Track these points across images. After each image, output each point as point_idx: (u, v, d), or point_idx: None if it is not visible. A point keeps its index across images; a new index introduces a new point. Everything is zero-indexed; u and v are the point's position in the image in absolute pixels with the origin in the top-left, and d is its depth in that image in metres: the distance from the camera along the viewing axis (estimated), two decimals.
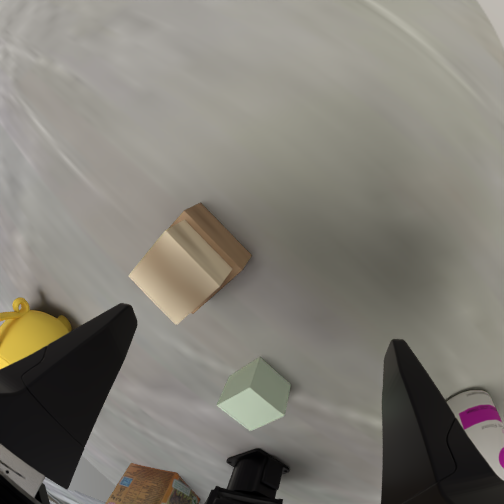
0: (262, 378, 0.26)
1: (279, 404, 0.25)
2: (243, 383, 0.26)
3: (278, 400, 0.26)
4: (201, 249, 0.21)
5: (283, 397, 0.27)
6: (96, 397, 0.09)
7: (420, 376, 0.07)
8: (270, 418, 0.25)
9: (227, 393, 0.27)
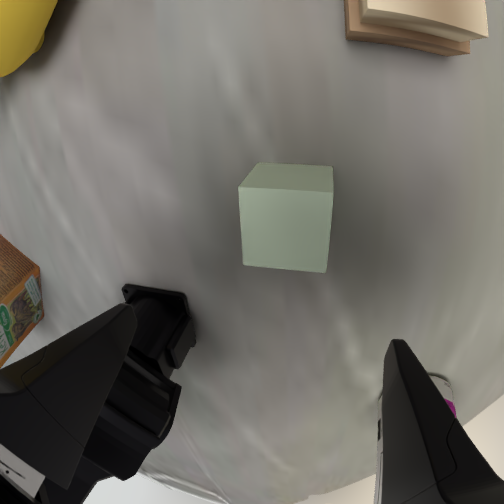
0: None
1: None
2: (307, 182, 0.15)
3: None
4: None
5: None
6: (96, 397, 0.09)
7: (420, 376, 0.07)
8: (300, 264, 0.16)
9: (265, 180, 0.15)
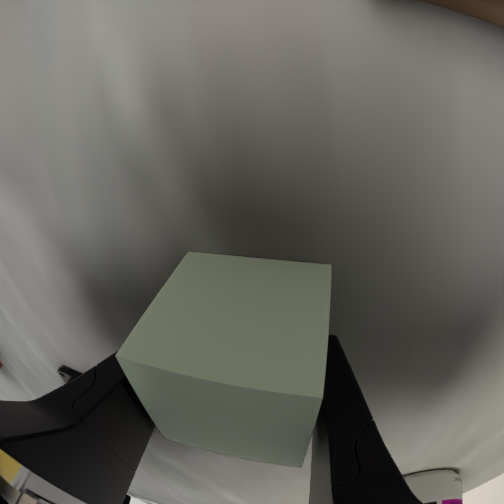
0: None
1: None
2: (269, 342, 0.06)
3: None
4: None
5: None
6: (150, 418, 0.08)
7: (342, 373, 0.07)
8: (256, 457, 0.08)
9: (177, 332, 0.07)
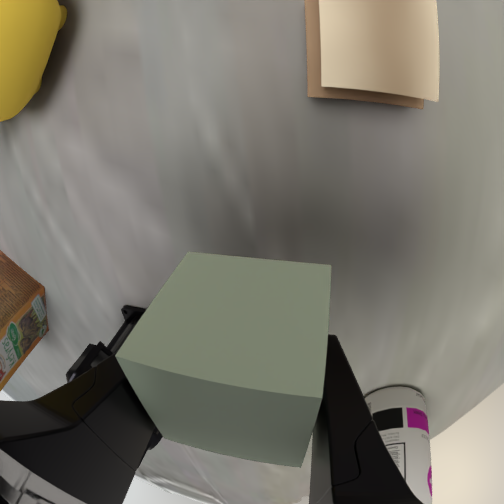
0: None
1: None
2: (268, 342, 0.07)
3: None
4: None
5: None
6: (150, 417, 0.08)
7: (342, 373, 0.07)
8: (256, 457, 0.08)
9: (176, 333, 0.07)
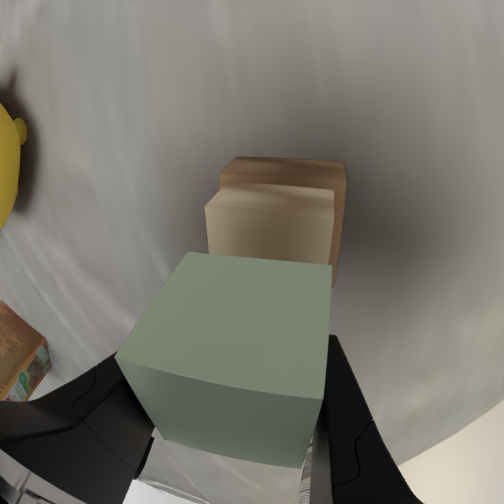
0: None
1: None
2: (268, 344, 0.06)
3: None
4: None
5: None
6: None
7: (342, 373, 0.07)
8: (256, 458, 0.08)
9: (176, 333, 0.07)
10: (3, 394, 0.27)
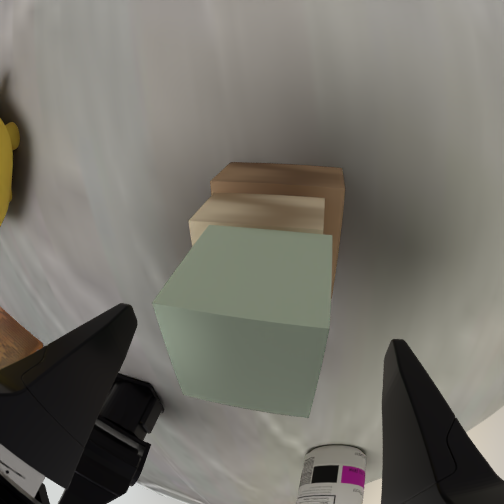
0: None
1: None
2: (283, 289, 0.08)
3: None
4: None
5: None
6: (96, 397, 0.09)
7: (420, 376, 0.07)
8: (268, 406, 0.09)
9: (205, 283, 0.08)
10: None
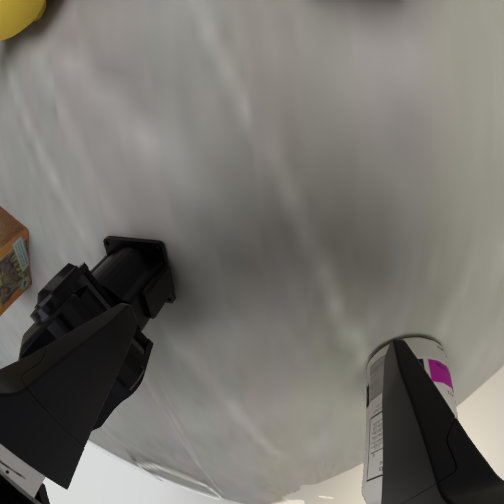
0: None
1: None
2: None
3: None
4: None
5: None
6: (96, 397, 0.09)
7: (420, 376, 0.07)
8: None
9: None
10: None
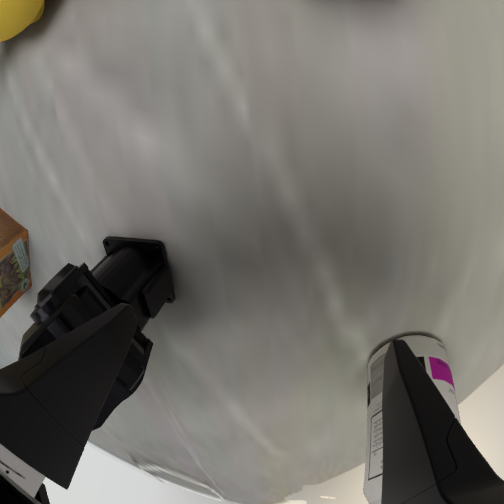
0: None
1: None
2: None
3: None
4: None
5: None
6: (96, 397, 0.09)
7: (420, 376, 0.07)
8: None
9: None
10: None
